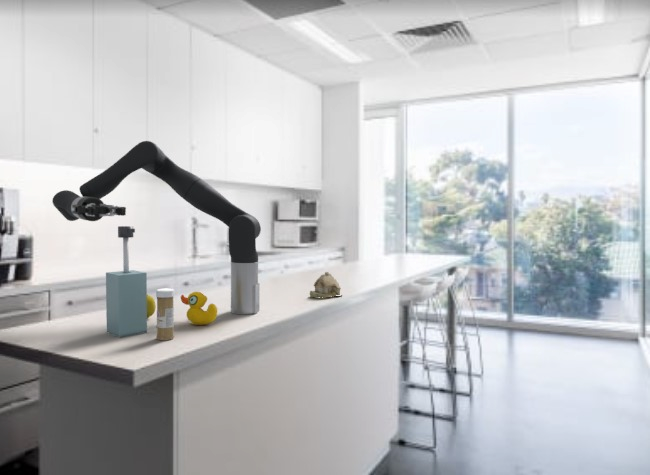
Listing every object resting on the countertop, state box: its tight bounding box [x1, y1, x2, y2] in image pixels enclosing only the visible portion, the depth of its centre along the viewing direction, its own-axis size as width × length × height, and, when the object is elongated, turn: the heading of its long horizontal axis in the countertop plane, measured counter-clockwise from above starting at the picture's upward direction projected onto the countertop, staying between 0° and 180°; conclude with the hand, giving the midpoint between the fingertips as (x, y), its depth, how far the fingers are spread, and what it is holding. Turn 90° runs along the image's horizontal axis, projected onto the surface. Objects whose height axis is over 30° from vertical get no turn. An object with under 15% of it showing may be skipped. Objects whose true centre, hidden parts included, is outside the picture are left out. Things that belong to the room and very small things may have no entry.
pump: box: [117, 225, 136, 273], centre depth 138 cm, size 6×4×14 cm, turn 46°
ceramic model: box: [309, 271, 341, 299], centre depth 203 cm, size 14×11×10 cm
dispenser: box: [105, 269, 148, 338], centre depth 140 cm, size 8×8×17 cm
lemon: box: [147, 293, 157, 320], centre depth 157 cm, size 6×6×8 cm
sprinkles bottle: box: [155, 287, 175, 341], centre depth 134 cm, size 5×5×14 cm
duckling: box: [180, 291, 218, 326], centre depth 151 cm, size 11×5×10 cm, turn 82°
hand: (109, 211), depth 146 cm, fingers open, 8 cm apart
